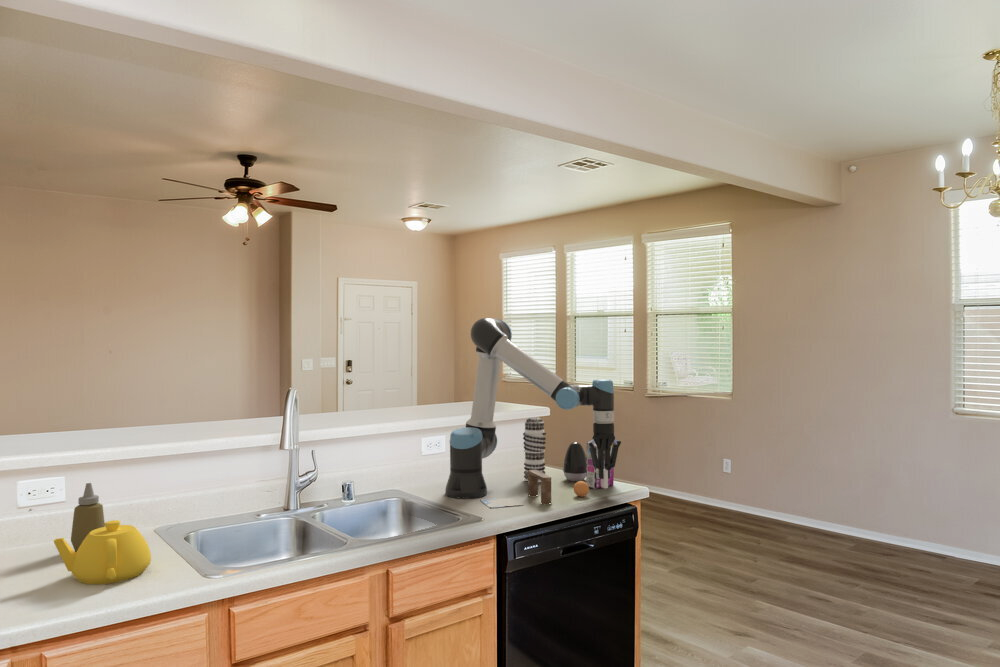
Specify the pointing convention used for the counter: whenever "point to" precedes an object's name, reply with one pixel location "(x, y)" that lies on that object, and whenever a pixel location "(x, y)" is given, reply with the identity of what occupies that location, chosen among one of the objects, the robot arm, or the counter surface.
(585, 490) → the ball
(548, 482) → the bridge
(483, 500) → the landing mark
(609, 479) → the candy bar box
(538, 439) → the decorative candle
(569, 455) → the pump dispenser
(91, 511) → the squeeze bottle
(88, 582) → the teapot
